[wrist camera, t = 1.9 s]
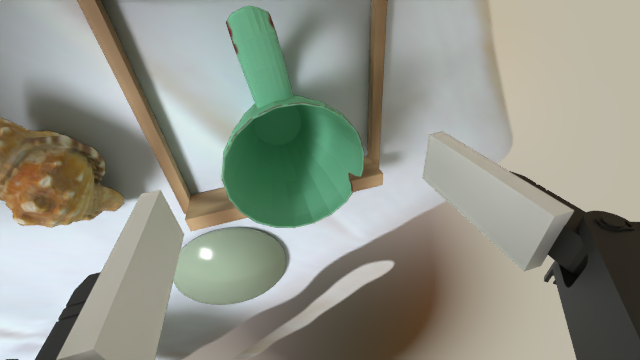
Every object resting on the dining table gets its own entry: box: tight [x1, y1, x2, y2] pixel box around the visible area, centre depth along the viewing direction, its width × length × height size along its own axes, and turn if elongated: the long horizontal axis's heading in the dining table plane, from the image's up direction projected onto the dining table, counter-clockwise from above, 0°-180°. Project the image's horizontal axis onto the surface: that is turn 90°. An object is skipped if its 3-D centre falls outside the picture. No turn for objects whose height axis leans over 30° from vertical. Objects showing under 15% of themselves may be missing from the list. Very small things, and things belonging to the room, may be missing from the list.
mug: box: [222, 6, 364, 228], centre depth 21 cm, size 15×10×10 cm
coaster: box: [173, 227, 286, 305], centre depth 35 cm, size 14×14×1 cm
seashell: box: [0, 117, 124, 227], centre depth 20 cm, size 9×8×10 cm
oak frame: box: [77, 0, 387, 231], centre depth 23 cm, size 22×20×4 cm
